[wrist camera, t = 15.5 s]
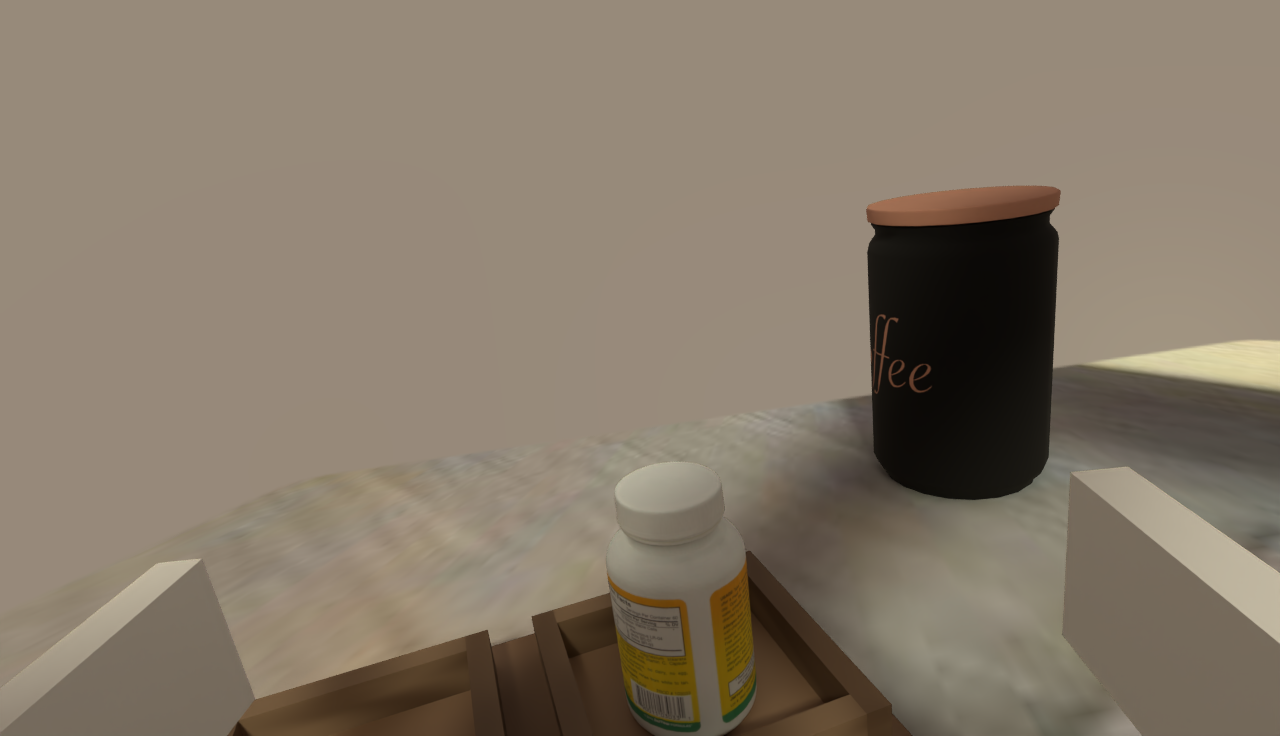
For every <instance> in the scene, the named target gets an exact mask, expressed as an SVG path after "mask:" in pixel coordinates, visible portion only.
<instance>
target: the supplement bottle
mask: <svg viewBox="0 0 1280 736" xmlns="http://www.w3.org/2000/svg"><path fill="white" fill-rule="evenodd" d="M614 496H615V504H616V511H617V521H618V524H619V525H620V529H619V530H618V531H617V533H616V534H615V535H614V537H613V538H612V540H611V542H610V544H609V547H608V550H607V555H606V567H607V575H608V582H609V588H610V595H611V601H612V608H613V614H614V620H615V627H616V634H617V640H618V646H619V652H620V659H621V666H622V672H623V679H624V686H625V691H626V698H627V702H628V706H629V708H630V711H631V713H632V715H633V716H634V718H635V719H636V721H637V722H638V723H639V724H640V725H641V726H642V727H643V728H644V729H645V730H647V731H648V732H650V733H651V734H653V735H655V736H723V735H725V734H727V733H729V732H730V731H732V730H733V729H734V728H736V727H737V726H738V725H739V724H740V723H741V722H742V720H743V719H744V718H745V717H746V715H747V714H748V713H749V711H750V709H751V708H752V706H753V703H754V701H755V697H756V690H757V683H756V669H755V657H754V646H753V636H752V624H751V612H750V599H749V587H748V574H747V562H746V551H745V545H744V542H743V539H742V536H741V534H740V533H739V531H738V530H737V528H736V527H735V526H734V525H733V524H732V523H731V522H730V521H729V520H727V519H726V518H725V517H723V513H724V510H725V505H724V500H723V492H722V484H721V480H720V478H719V476H718V474H717V473H716V472H714V471H713V470H712V469H710V468H708V467H706V466H703V465H700V464H696V463H691V462H664V463H658V464H652V465H649V466H646V467H643V468H640V469H637V470H635V471H633V472H631V473H630V474H628V475H626V476H625V477H624V478H622V479H621V480H620V481H619V483H618V484H617V486H616V488H615V493H614Z"/></svg>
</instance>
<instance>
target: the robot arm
mask: <svg viewBox="0 0 1280 736" xmlns="http://www.w3.org/2000/svg"><path fill="white" fill-rule="evenodd" d="M1062 635H1063V636H1064V638H1065V639H1066V640H1067V641H1068V643H1069V644H1070V645H1071V647H1072V648H1073V649H1074V650H1075V652H1076V653H1077V654H1078V655H1079V657H1080V658H1081V659H1082V660H1083V662H1084V663H1085V664H1086V665H1087V667H1088V668H1089V669H1090V670H1091V672H1092V673H1093V674H1094V675H1095V677H1096V678H1097V679H1098V680H1099V682H1100V683H1101V684H1102V686H1103V687H1104V688H1105V689H1106V691H1107V692H1108V693H1109V694H1110V696H1111V697H1112V698H1113V699H1114V701H1115V702H1116V703H1117V704H1118V706H1119V707H1120V708H1121V709H1122V711H1123V712H1124V713H1125V714H1126V716H1127V717H1128V718H1129V719H1130V721H1131V722H1132V723H1133V724H1134V726H1135V727H1136V728H1137V730H1138V731H1139V732H1140V733H1141V735H1142V736H1280V573H1279V572H1277V571H1276V570H1275V569H1273V568H1272V567H1270V566H1269V565H1267V564H1266V563H1265V562H1263V561H1262V560H1260V559H1259V558H1257V557H1256V556H1255V555H1253V554H1252V553H1250V552H1249V551H1247V550H1246V549H1245V548H1243V547H1242V546H1240V545H1239V544H1237V543H1236V542H1235V541H1233V540H1232V539H1230V538H1229V537H1228V536H1226V535H1225V534H1223V533H1222V532H1220V531H1219V530H1218V529H1216V528H1215V527H1213V526H1212V525H1210V524H1209V523H1208V522H1206V521H1205V520H1203V519H1202V518H1200V517H1199V516H1198V515H1196V514H1195V513H1193V512H1192V511H1190V510H1189V509H1188V508H1186V507H1185V506H1183V505H1182V504H1181V503H1179V502H1178V501H1176V500H1175V499H1173V498H1172V497H1171V496H1169V495H1168V494H1166V493H1165V492H1163V491H1162V490H1161V489H1159V488H1158V487H1156V486H1155V485H1153V484H1152V483H1151V482H1149V481H1148V480H1146V479H1145V478H1143V477H1142V476H1141V475H1139V474H1138V473H1136V472H1135V471H1133V470H1132V469H1131V468H1129V467H1117V468H1107V469H1097V470H1087V471H1077V472H1070V491H1069V511H1068V531H1067V551H1066V571H1065V591H1064V611H1063V631H1062ZM254 700H255V697H254V694H253V691H252V689H251V686H250V683H249V681H248V678H247V676H246V673H245V670H244V668H243V665H242V662H241V660H240V657H239V654H238V652H237V649H236V646H235V644H234V641H233V639H232V636H231V633H230V631H229V628H228V625H227V623H226V620H225V617H224V615H223V612H222V609H221V607H220V604H219V602H218V599H217V596H216V594H215V591H214V588H213V586H212V583H211V580H210V578H209V575H208V572H207V570H206V567H205V565H204V562H203V559H193V560H183V561H173V562H163V563H157V564H156V565H154V566H153V567H152V568H151V569H149V570H148V571H147V572H146V573H144V574H143V575H142V576H141V577H139V578H138V579H137V580H136V581H134V582H133V583H132V584H131V585H129V586H128V587H127V588H125V589H124V590H123V591H122V592H120V593H119V594H118V595H117V596H115V597H114V598H113V599H112V600H110V601H109V602H108V603H107V604H105V605H104V606H103V607H102V608H100V609H99V610H98V611H97V612H95V613H94V614H93V615H92V616H90V617H89V618H88V619H87V620H85V621H84V622H83V623H82V624H80V625H79V626H78V627H76V628H75V629H74V630H73V631H71V632H70V633H69V634H68V635H66V636H65V637H64V638H63V639H61V640H60V641H59V642H58V643H56V644H55V645H54V646H53V647H51V648H50V649H49V650H48V651H46V652H45V653H44V654H43V655H41V656H40V657H39V658H38V659H36V660H35V661H34V662H33V663H31V664H30V665H29V666H27V667H26V668H25V669H24V670H22V671H21V672H20V673H19V674H17V675H16V676H15V677H14V678H12V679H11V680H10V681H9V682H7V683H6V684H5V685H4V686H2V687H1V688H0V736H227V735H228V734H229V732H230V731H231V730H232V729H233V727H234V726H235V725H236V723H237V722H238V721H239V719H240V718H241V717H242V716H243V714H244V713H245V712H246V710H247V709H248V708H249V706H250V705H251V704H252V703H253V701H254Z"/></svg>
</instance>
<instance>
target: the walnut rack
mask: <svg viewBox="0 0 1280 736" xmlns="http://www.w3.org/2000/svg"><path fill="white" fill-rule="evenodd" d="M746 562H747V574H748V587H749V599H750V612H751V624H752V636H753V646H754V657H755V669H756V683H757V690H756V697H755V701H754V703H753V706H752V708H751V709H750V711H749V713H748V714H747V715H746V717H745V718H744V719H743V720H742V722H741V723H740V724H739V725H738V726H737V727H736V728H734V729H733V730H732V731H730V732H729V733H727V734H725V735H723V736H912V735H911V734H910V732H909V731H908V730H907V729H906V728H905V727H904V726H903V725H902V724H901V723H900V721H899V720H898V719H897V718H896V717H895V716H894V715H893V714H892V704H891V703H890V702H889V701H888V700H887V699H886V698H885V697H884V696H883V695H882V694H881V692H880V691H879V690H878V689H877V688H876V687H875V686H874V685H873V684H872V683H871V682H870V680H869V679H868V678H867V677H866V676H865V675H864V674H863V673H862V672H861V671H860V670H859V669H858V667H857V666H856V665H855V664H854V663H853V662H852V661H851V660H850V659H849V658H848V657H847V656H846V654H845V653H844V652H843V651H842V650H841V649H840V648H839V647H838V646H837V645H836V644H835V643H834V641H833V640H832V639H831V638H830V637H829V636H828V635H827V634H826V633H825V632H824V631H823V630H822V628H821V627H820V626H819V625H818V624H817V623H816V622H815V621H814V620H813V619H812V618H811V616H810V615H809V614H808V613H807V612H806V611H805V610H804V609H803V608H802V607H801V606H800V605H799V603H798V602H797V601H796V600H795V599H794V598H793V597H792V596H791V595H790V594H789V593H788V592H787V590H786V589H785V588H784V587H783V586H782V585H781V584H780V583H779V582H778V581H777V580H776V579H775V577H774V576H773V575H772V574H771V573H770V572H769V571H768V570H767V569H766V568H765V567H764V566H763V564H762V563H761V562H760V561H759V560H758V559H757V558H756V557H755V556H754V555H753V554H752V552H751V551H747V552H746ZM532 622H533V626H534V631H535V633H534V634H531V635H528V636H525V637H521V638H518V639H515V640H512V641H508V642H505V643H502V644H499V645H495V646H492V647H491V643H490V639H489V634H488V630H485V631H482V632H479V633H475V634H472V635H469V636H465V637H462V638H459V639H455V640H452V641H449V642H445V643H442V644H439V645H435V646H432V647H429V648H425V649H422V650H419V651H416V652H412V653H409V654H406V655H402V656H399V657H396V658H392V659H389V660H386V661H382V662H379V663H376V664H372V665H369V666H366V667H362V668H359V669H356V670H352V671H349V672H346V673H343V674H339V675H336V676H333V677H329V678H326V679H323V680H319V681H316V682H313V683H309V684H306V685H303V686H299V687H296V688H293V689H289V690H286V691H283V692H279V693H276V694H273V695H269V696H266V697H263V698H260V699H256V700H254V701H253V703H252V704H251V705H250V706H249V708H248V709H247V710H246V712H245V713H244V714H243V716H242V717H241V718H240V719H239V721H238V722H237V723H236V725H235V726H234V727H233V729H232V730H231V731H230V732H229V734H228V735H227V736H655V735H653V734H651V733H650V732H648V731H647V730H645V729H644V728H643V727H642V726H641V725H640V724H639V723H638V722H637V721H636V719H635V718H634V716H633V715H632V713H631V711H630V708H629V706H628V702H627V698H626V691H625V686H624V679H623V672H622V666H621V659H620V652H619V646H618V640H617V634H616V627H615V620H614V614H613V608H612V601H611V595H610V593H608V594H605V595H601V596H598V597H595V598H591V599H588V600H585V601H582V602H578V603H575V604H572V605H568V606H565V607H562V608H558V609H555V610H552V611H548V612H545V613H542V614H538V615H535V616H532Z"/></svg>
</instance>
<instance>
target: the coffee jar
mask: <svg viewBox="0 0 1280 736" xmlns="http://www.w3.org/2000/svg"><path fill="white" fill-rule="evenodd" d="M1059 200H1060V190H1059V189H1057V188H1054V187H1047V186H1002V187H984V188H970V189H959V190H949V191H939V192H931V193H924V194H916V195H910V196H903V197H897V198H892V199H888V200H883V201H879V202H876V203H873V204H870V205H868V207H867V211H866V212H867V220H868V222H870V223H871V225H872V226H873V228H874V229H875V236H874V237H873V238H872V240H871V241H870V243H869V247H868V252H867V254H868V285H869V315H870V342H871V344H870V345H871V373H872V406H873V436H874V453H875V455H876V457H877V459H878V460H879V462H880V463H881V465H882V466H883V468H884V469H885V470H886V471H887V473H888V474H889V476H890V477H891V478H892V479H894V480H895V481H897V482H899V483H900V484H902V485H903V486H905V487H907V488H910V489H913V490H916V491H918V492H921V493H924V494H929V495H934V496H939V497H944V498H953V499H972V500H975V499H986V498H997V497H1002V496H1005V495H1009V494H1012V493H1016V492H1019V491H1020V490H1022V489H1023V488H1025V487H1026V486H1028V485H1030V484H1031V483H1032V481H1033V479H1034V478H1035V477H1037V476H1038V475H1039V474H1040V473H1041V472H1042V470H1043V468H1044V466H1045V464H1046V462H1047V459H1048V456H1049V435H1050V414H1051V393H1052V372H1053V351H1054V328H1055V308H1056V287H1057V266H1058V245H1059V237H1058V232H1057V231H1056V230H1055V228H1054V227H1053V226H1052V225H1051V224H1050V222H1049V221H1050V214H1051V213H1052V212H1053V210H1054V209H1055V207H1056V206H1058V205H1059Z"/></svg>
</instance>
